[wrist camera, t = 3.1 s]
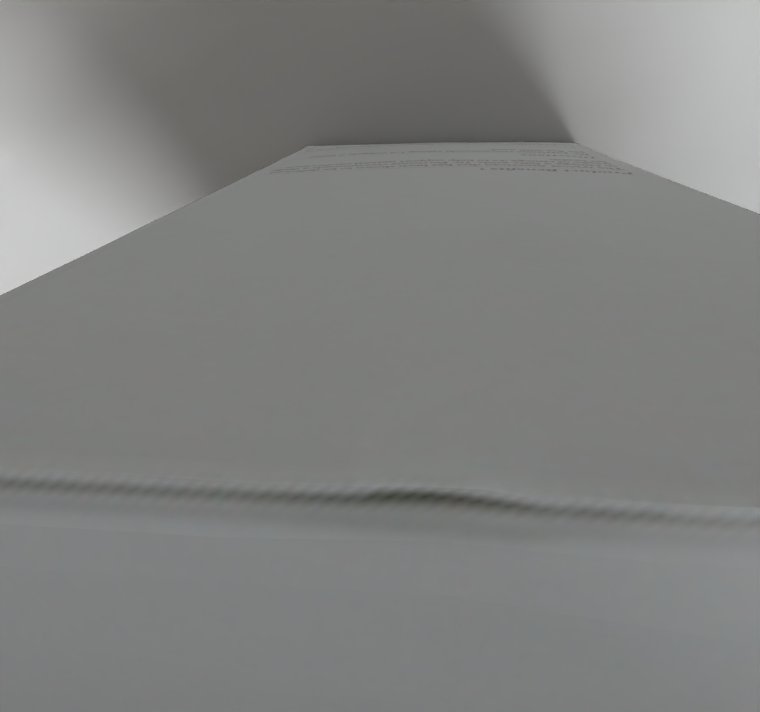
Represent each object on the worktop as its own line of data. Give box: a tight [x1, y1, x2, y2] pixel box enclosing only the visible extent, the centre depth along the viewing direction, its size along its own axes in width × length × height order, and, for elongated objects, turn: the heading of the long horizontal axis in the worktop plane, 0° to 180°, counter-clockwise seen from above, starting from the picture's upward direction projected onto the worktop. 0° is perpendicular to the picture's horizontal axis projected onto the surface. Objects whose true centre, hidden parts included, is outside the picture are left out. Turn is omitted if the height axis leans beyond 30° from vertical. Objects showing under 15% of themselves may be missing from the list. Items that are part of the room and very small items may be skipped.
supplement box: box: [0, 142, 760, 712], centre depth 9 cm, size 7×7×13 cm
